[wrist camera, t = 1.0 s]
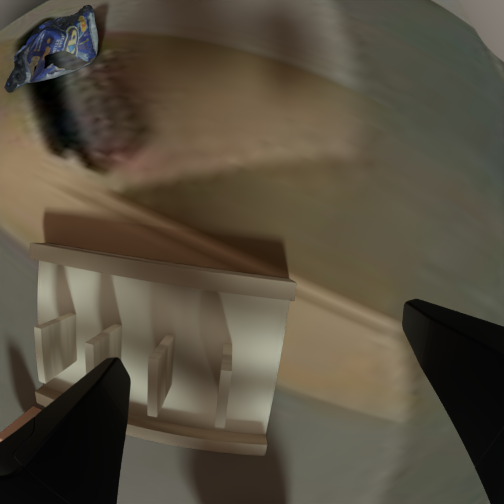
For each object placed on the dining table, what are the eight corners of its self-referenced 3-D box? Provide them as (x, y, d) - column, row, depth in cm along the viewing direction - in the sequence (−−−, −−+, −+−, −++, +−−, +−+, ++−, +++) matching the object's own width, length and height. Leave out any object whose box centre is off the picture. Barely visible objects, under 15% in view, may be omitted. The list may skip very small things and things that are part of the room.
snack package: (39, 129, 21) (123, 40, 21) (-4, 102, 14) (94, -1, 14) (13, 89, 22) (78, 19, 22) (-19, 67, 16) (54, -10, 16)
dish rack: (261, 437, 22) (269, 484, 16) (50, 391, 21) (16, 419, 14) (289, 278, 22) (310, 290, 15) (48, 243, 21) (2, 242, 14)
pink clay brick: (57, 453, 21) (29, 488, 14) (43, 447, 21) (13, 479, 14) (47, 412, 21) (11, 445, 14) (33, 406, 20) (-4, 436, 14)
